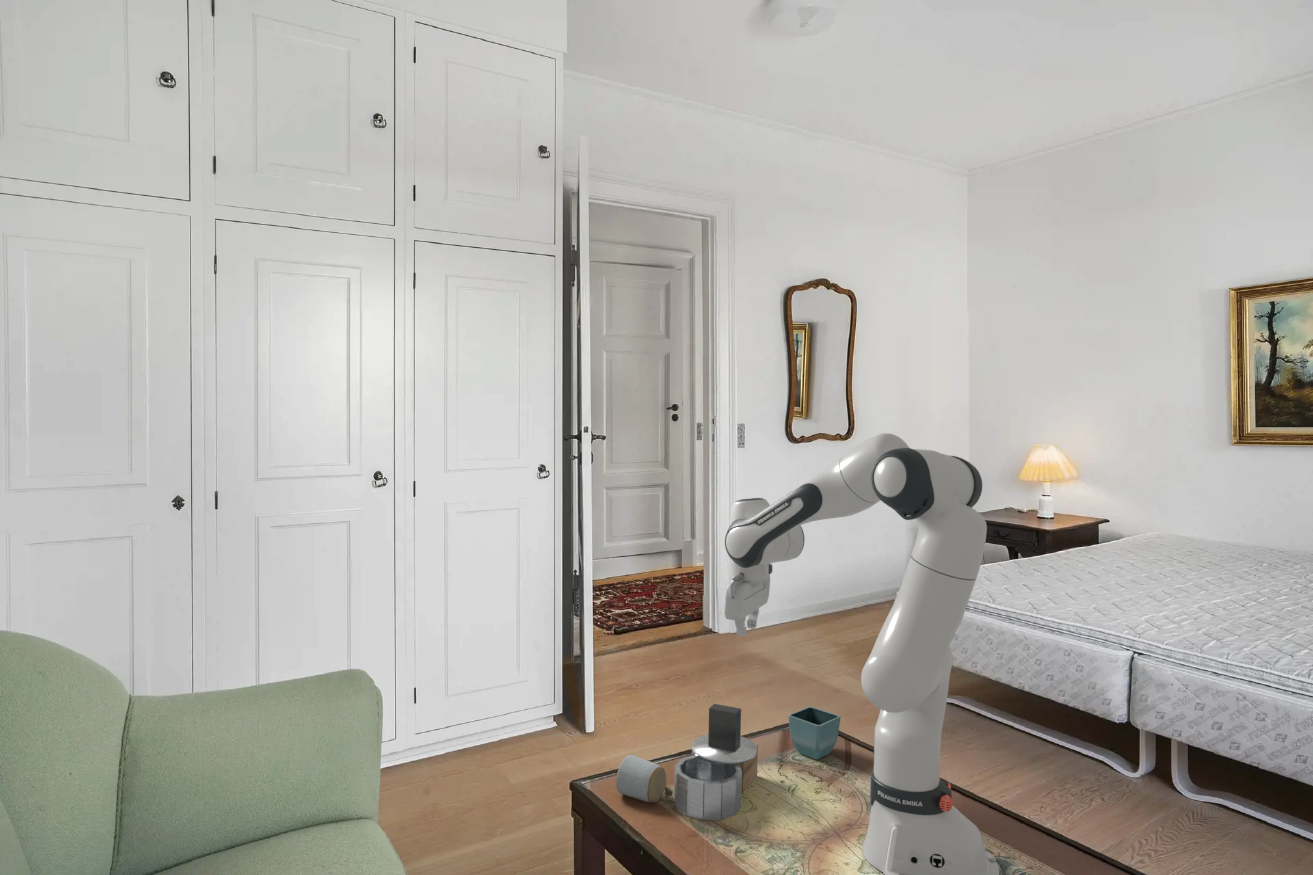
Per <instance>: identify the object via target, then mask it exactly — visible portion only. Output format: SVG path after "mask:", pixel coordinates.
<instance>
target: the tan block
mask: <svg viewBox="0 0 1313 875" xmlns="http://www.w3.org/2000/svg"><path fill="white" fill-rule="evenodd" d="M755 745H756V746H757V755H756V756H755V757H754V758H753V759H752V760H750V761H748V762H744V763H740V764H739V766H740V768H741V770H742V795H744V793H745V792H746V791H747V790H748V788H749V787H750V786H751V785H752V783H753V782H754V781H755V779H756V778H757V777H758V760H759V759H758V753H759V744H758V743H755Z"/></svg>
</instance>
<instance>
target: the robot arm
mask: <svg viewBox="0 0 1313 875" xmlns="http://www.w3.org/2000/svg"><path fill="white" fill-rule="evenodd" d="M982 492H983V480H982V477H981V473H980V472H979V470H978V468H976V466H974V465H973V464H972V463H971V462H969V461H967V460H966V459H964V458H962V457H959V456H956V455H948V454H944V453H940V452H939V451H935V450H932V449H931V450H930V449H919V448H915V449H913V448H911V447H910V446H909V445H908V444H907V442H906V441H905V440H903V439H902V438H901V437H899V436H897V435H895V434H892V433H888V432H887V433H886V432H885V433H880V434H876V435H874V436H873V437H870V438H868V439H866V440H865V441H863V442H861V443H859V444H858V445H856V446H854V447H853V448H851V449H850V450H848V451H846V453H844V454H843V455H841V456H840V457H839V458H838V459H836V460H835V461H834V462H833V463H831V464H830V465H829V466H827V467H826V468H824V469H823V470H822V471H821V472H819V473H818V474H817V475H815V476H814V477H812V478H811V479H809V480H808V481H806V482H804V483H803V484H802V485H800V486H799V487H797V488H795V489H794V490H793V491H790V492H789V493H787V494H786V495H784V496H782V497H781V498H780V499H778V500H776V501H775V502H773V503H772V504H770V502H768V500H767V499H765V498H762V497H752V498H743V499H738V500H736V501H734V502H733V504H732V506H731V511H730V515H729V516H730V517H729V525H728V526H729V527H728V528H727V531H726V533H725V538H724V547H725V550H726V553H727V556H728V561H727V562H728V567H727V568H728V569H727V576H728V578H729V579H731V580H732V581H731V582H730V583H729V584H728V585H727V587H726V589H725V598H724V600H725V601H724V617H725V619H726V620H729V621H734V624H735V628H736V636H738V637H744V636H745V635H747V628H748V629H756V628H757V625H758V624H757V622H758V616H759V614H760V608H761V607H763V606H765V605H766V604H767V603H768V600H769V596H770V587H771V574H772V573H773V567H774V566H773V563H780V562H786V561H790V560H794V559H796V558H798V557H799V556H801V553H802V552H803V549H804V547H805V541H806V540H805V539H806V538H805V533H804V530H803V527H802V526H803V525H806V524H808V523H812V522H817V521H822V520H828V519H830V520H831V519H838V518H845V517H850V516H854V515H857V514H858V513H862V512H863V511H866V510H868V509H870V508H872V507H873V506H874V505H876V504H878V503H879V502H881V503H883V504H885V506H888V507H889V508H890V509H892V510H894V511H895V512H896V513H897V515H899V516H900V517H901V518H902V519H903V520H906V521H913V520H915V523H916V524H917V535H916V540H915V543H914V545H913V548H912V551H911V553H910V557H909V560H908V563H907V566H906V569H905V571H904V575H903V578H902V581H901V585H900V587H899V589H898V590H899V591H898V593H897V595H896V597H895V600H894V602H893V605H892V607H891V609H890V610H889V612H888V615H887V617H886V618H885V621H884V622H883V624H882V627H881V630H880V631H879V632H878V633H879V634H878V636H877V637H876V640H875V643H874V645H873V647H872V650H871V653H870V654H869V656H868V658H867V660H866V662H865V663H864V665H863V667H862V670H861V676H860V682H861V688H862V691H863V693H864V695H865V697H866V698H867V699H868V700H869V702H870V703H871V704H872V705H874V707H876V708H878V709H879V714H878V718H877V719H876V720H877V721H876V723H875V727H874V741H873V742H874V743H873V745H874V746H873V769H872V772H871V774H870V781H869V800H870V805H871V808H870V816H869V821H868V826H867V832H866V835H865V838H864V841H863V844H862V847H861V852H862V855H863V857H864V858H865V860H866V861H867V862H868V863H869V864H870V865H871V866H873V867H874V868H875V869H876V870H878V871H880V873H882V872H883V873H882V874H885V875H999V873H1000V868H999V864H998V861H997V859H996V858H995V857H994V856H993V854H992V853H990V852H989V851H986V846H985V842H984V838H983V836H982V832H981V831H980V830H979V828H978V826H977V825H976V824H975V823H974V822H972V821H971V820H970V819H969V818H967V817H966V816H965V815H964V814H963V813H962V812H961V811H959V809H957V808H956V807H955V806H954V805H953V803H954V801H953V792H952V785H951V783H950V782H948V784H946V783H945V782H944V781H942V780H941V779H940V776H941V775H940V774H941V773H940V771H941V742H942V732H943V727H944V726H943V725H944V719H945V715H946V714H945V713H946V708H947V702H948V695H949V688H950V687H949V686H950V676H951V670H952V666H953V661H954V660H953V659H954V656H953V651H952V650H953V649H952V648H951V643H952V641H953V639H954V636H955V634H956V632H957V631H958V628H959V627H960V625H961V623H962V620H963V618H964V615H965V613H966V610H967V607H968V604H969V601H970V597H971V595H972V592H973V590H974V586H975V585H976V581H977V578H978V574H979V572H980V569H981V565H982V561H983V557H984V552H985V546H986V541H987V533H988V532H987V531H988V526H987V521H986V520H985V518H984V516H983V515H982V514H981V513H980V512H978V511H977V510H976V509H974V508H973V507H974V506H976V504H977V503H978V502H979V500H980V498H981V496H982ZM746 617H747V618H748V619H747V618H746ZM746 620H747V621H746ZM745 622H747V624H746V623H745ZM989 859H994V861H997V862H995V863H994V862H993V863H990V862H987V861H988V860H989ZM992 861H993V860H992Z"/></svg>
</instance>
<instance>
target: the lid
mask: <svg viewBox="0 0 1313 875" xmlns="http://www.w3.org/2000/svg"><path fill="white" fill-rule="evenodd" d="M741 726H742V708H739V707H735V706H729V705H723V704H716V703H714V704H712V705H711V706H710V707H708V734H704V735H701V736H698V737H697V738H695V739H694V740H693V741H692V743H691V752H692V754H693V755H696V756H697V757H698V758H700V759H702V760H705V761H708V762H711V763H716V764H740V763H744V762H748V761H750V760H752V759H753V758H754V757H755V756H756V755H757V746H756V745H755V744H756V743H755V742H754V741H753V740H751V739H749V738H747V737H744V736H741V732H742V730H741Z"/></svg>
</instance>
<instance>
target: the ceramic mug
mask: <svg viewBox="0 0 1313 875" xmlns="http://www.w3.org/2000/svg"><path fill="white" fill-rule="evenodd" d="M667 782H668V781H667V773H666V770H665V769H664V768H663V767H662V766H661V765H660V764H658V763H656V762H654V761H653V762H652V761H649V760H648V759H645V758H642V757H639V756H636V755H634V754H629V755H626V756H625V757H624V759H623V760H622V761H621V763H620V764H619V768H618V770H617V774H616V780H615V783H616V784H615V785H616V789H617V790H616V791H617V792H618V793H620V794H621V795H623V794H624V796H626V795H627V797H630V798H632V797H633V799H635V800H636V799H637V800H639V801H641V802H645V803H651V804H652V803H655V802H657V801H658V800H660V799H661V797H662V796H663V794H664V792H665V789H666V787H667Z"/></svg>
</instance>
